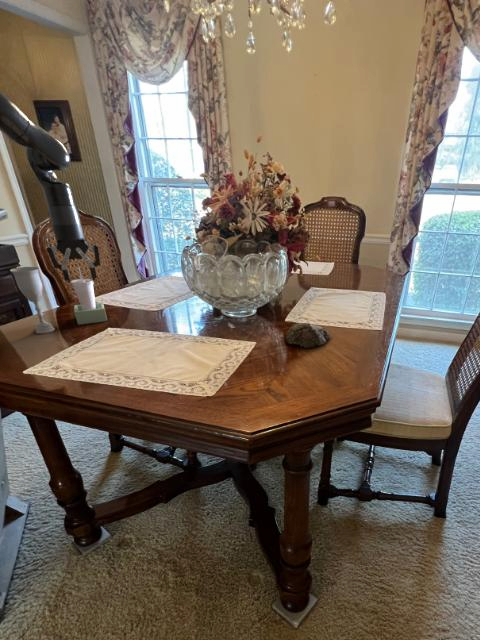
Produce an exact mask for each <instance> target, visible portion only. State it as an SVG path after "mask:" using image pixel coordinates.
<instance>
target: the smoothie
mask: <svg viewBox="0 0 480 640" xmlns="http://www.w3.org/2000/svg"><path fill="white" fill-rule="evenodd" d="M77 270H78V273H79V278H80V279H74V280H73V279H72V280H71V282H70V285H71V286H72V287H73V291H74V292H75V295H76V297H77V299H78V302H79V305H81V307H82V309H83V310H92V309H96V305H95V303H96V299H95V298H96V297H95V289H94V284H95V282H94V281H93V279H92V278H83V274H82V271H81V267H80V266H77Z"/></svg>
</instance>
